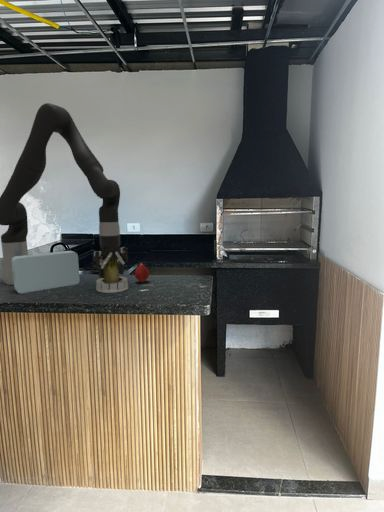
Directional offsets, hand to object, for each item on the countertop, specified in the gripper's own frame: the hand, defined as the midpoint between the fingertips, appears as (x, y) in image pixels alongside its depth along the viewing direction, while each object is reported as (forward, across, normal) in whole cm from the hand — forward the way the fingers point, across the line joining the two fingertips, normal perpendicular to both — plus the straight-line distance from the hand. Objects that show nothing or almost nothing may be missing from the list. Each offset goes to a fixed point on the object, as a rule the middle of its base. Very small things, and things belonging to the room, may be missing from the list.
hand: (111, 275), depth 130 cm
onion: (+5, +14, -1) cm, 15 cm away
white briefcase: (+5, -16, +21) cm, 27 cm away
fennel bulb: (+4, 0, 0) cm, 4 cm away
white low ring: (+5, 0, 0) cm, 5 cm away
